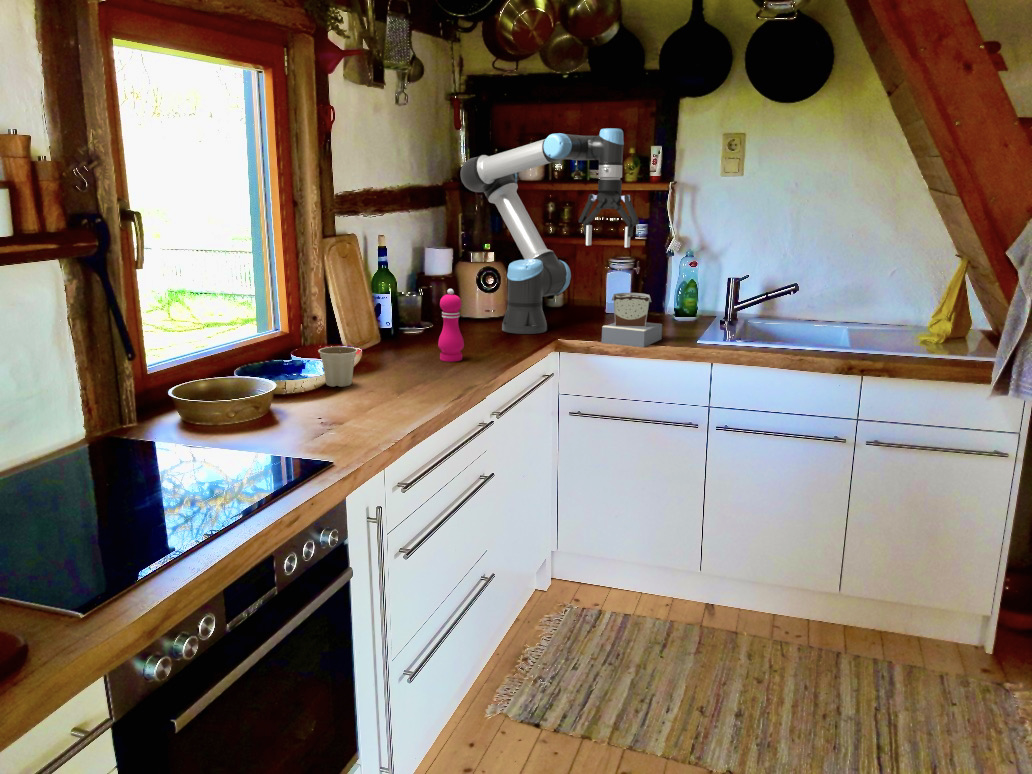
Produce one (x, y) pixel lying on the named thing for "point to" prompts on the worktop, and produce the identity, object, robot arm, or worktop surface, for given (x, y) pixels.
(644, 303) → the food container
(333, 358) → the flower pot
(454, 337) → the pepper mill
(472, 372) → the worktop surface
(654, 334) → the block
